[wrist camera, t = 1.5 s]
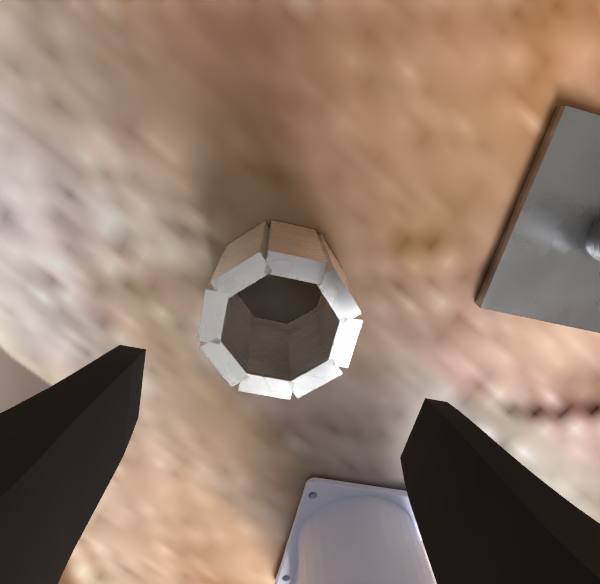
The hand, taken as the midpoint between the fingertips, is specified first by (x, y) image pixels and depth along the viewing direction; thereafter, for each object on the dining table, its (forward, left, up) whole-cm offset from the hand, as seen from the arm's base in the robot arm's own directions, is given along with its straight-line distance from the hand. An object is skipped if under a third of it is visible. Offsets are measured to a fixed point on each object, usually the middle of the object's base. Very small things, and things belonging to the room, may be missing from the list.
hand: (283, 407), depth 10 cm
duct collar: (0, 0, -10) cm, 10 cm away
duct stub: (+5, -14, -10) cm, 18 cm away
